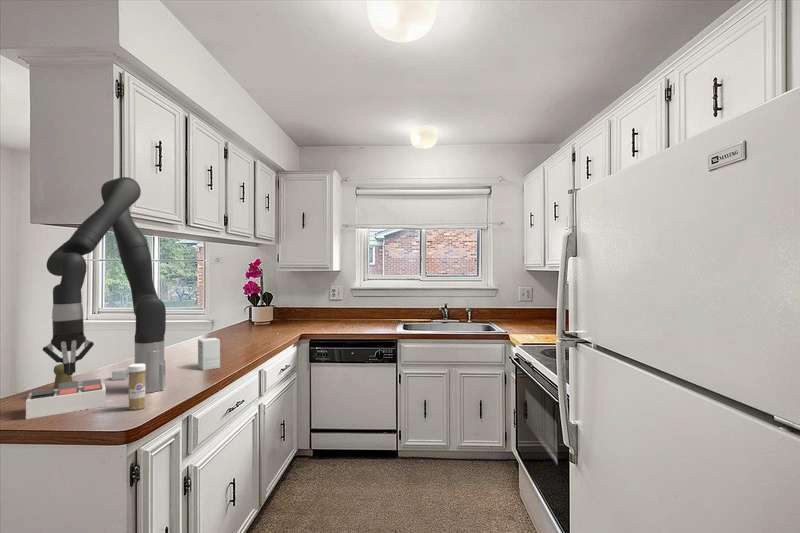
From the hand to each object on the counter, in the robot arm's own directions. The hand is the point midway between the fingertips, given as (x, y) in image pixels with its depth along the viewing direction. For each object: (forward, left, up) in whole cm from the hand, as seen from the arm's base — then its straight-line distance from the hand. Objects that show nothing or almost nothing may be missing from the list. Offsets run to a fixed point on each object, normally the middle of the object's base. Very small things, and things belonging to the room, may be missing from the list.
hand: (69, 374), depth 132 cm
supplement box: (-37, -47, -11) cm, 60 cm away
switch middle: (+1, -3, -6) cm, 6 cm away
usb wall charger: (-6, -39, -11) cm, 41 cm away
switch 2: (-5, -4, -6) cm, 8 cm away
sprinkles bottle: (-19, +5, -11) cm, 22 cm away
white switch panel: (+1, -3, -11) cm, 11 cm away
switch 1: (+7, -1, -6) cm, 9 cm away
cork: (+7, -19, -11) cm, 23 cm away
